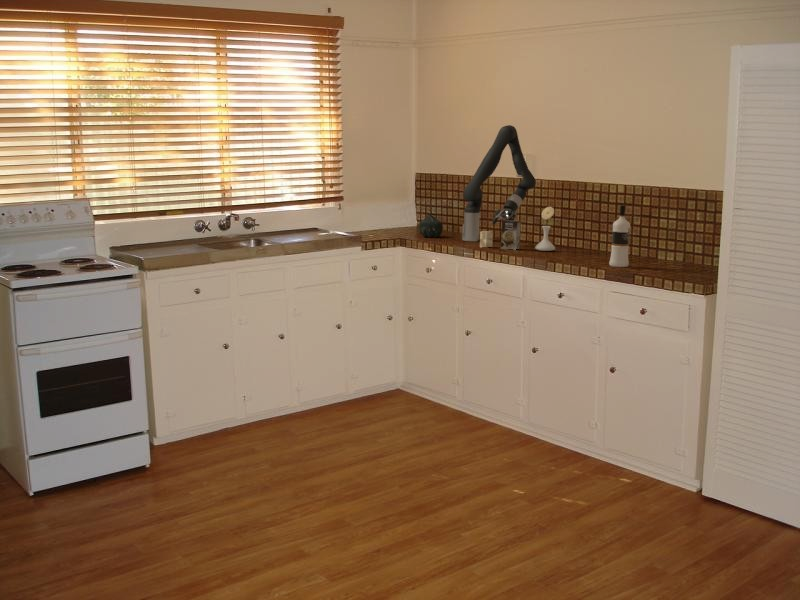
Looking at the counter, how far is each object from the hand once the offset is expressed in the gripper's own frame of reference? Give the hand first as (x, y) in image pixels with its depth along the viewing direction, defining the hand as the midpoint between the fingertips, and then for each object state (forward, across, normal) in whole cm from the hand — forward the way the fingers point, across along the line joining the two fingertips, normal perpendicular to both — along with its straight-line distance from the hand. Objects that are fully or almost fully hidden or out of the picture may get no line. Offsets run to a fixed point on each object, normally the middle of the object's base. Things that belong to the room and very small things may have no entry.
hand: (498, 224), depth 509 cm
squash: (+8, -59, +10) cm, 60 cm away
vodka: (+16, +92, +3) cm, 93 cm away
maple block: (+16, 0, +3) cm, 16 cm away
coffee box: (+12, +13, +7) cm, 19 cm away
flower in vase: (+3, +29, +15) cm, 33 cm away
